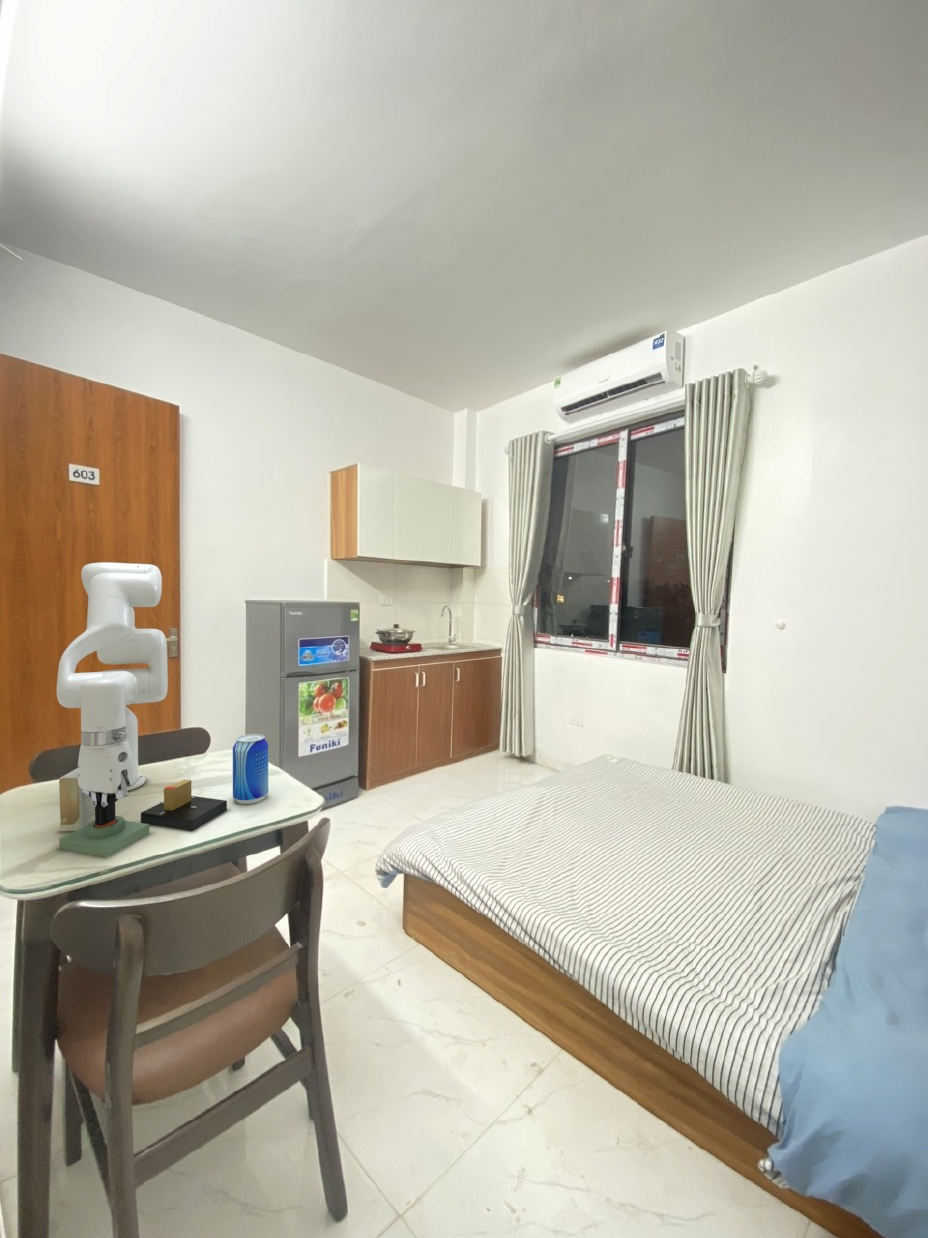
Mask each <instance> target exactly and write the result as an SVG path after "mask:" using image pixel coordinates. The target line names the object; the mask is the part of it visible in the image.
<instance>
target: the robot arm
mask: <svg viewBox="0 0 928 1238" xmlns="http://www.w3.org/2000/svg"><path fill="white" fill-rule="evenodd" d="M80 574H81V575H80V576H81V582H82V586H83V588H84V590H85V593H86V594H87V597H88V598H87V599H88V600H87V618H86V629H85V631H83V633H81V634H80V635H78V636H77V637H76V638H75V639H73V641H71V643H69V645H68V646H67V647H66V648H65V649H64V651H63V652H62V654H61V657H60V659H59V662H58V669H57V679H56V699H57V702H58V703H59V704H60V706H62V707H63V708H66V709H80V732H81V733H80V735H81V737H80V738H81V743H80V747H79V752H78V761H77V768H78V785H79V787H80V788H81V789H82V792H83V793H85V794H87V795H89V796H90V797H91V798H92V804H93V805H94V806H95V824H96V825H101V826H103V825H105V824H107V823H109V822H111V821H113V820H115V816H116V803H117V802H118V801H119V799H123V798H125V797H127V796H128V795H129V791H132V790H135V789H137V788H139V787H141V786H143V785H144V783H145V782H146V776H145V775H143V774H140V773H139V722H138V718H137V716H136V714H135V713H134V712H133V711H132V710H131V709H130V708H129V707H127V706H129V705H130V706H131V705H137V704H138V705H139V704H150V703H158V702H161V701H164V700H165V699H166V697H167V695H168V689H169V674H168V671H169V670H168V669H169V667H168V642H167V638H166V635H165V633H164V632H163V631H162V630H161V629H158V628H137V627H136V625H135V622H136V620H135V617H136V616H135V615H136V613H135V610H134V608H154V607H156V606H158V605H159V604H160V601H161V598H162V591H163V590H162V589H163V587H162V586H163V576H162V573H161V570H160V568H159V567H158V566H157V565H154V564H151V563H150V564H148V563H128V562H127V563H126V562H108V561H107V562H102V561H101V562H91V563H87V564H85V565H84V566H83V567H82V568H81V573H80ZM94 652H96V657H97V659H98V661H99V662H100V663H103V664H105V665H133V664H136V665H137V664H145V665H147V666H148V667H141V668H119V669H108V670H103V671H91V672H89V671H88V672H76V669H77V666H78V664H79V663H80V662H81V661H82V660H83V659H84V658H85V657H86V656H88V655H90V654H92V653H94Z"/></svg>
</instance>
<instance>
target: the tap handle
mask: <svg viewBox="0 0 928 1238" xmlns="http://www.w3.org/2000/svg"><path fill="white" fill-rule="evenodd" d="M192 796H193V795H192V779H181V780H180V781H177V782H175V783H173V784H171V785H167V786H165V787H164V788H163V802H164V810H169V811H173V810H175V809H177V808H178V807H180V806H182V805H184V804H186V803H188V802H190V801H191V800H192Z"/></svg>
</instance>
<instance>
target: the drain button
mask: <svg viewBox="0 0 928 1238" xmlns="http://www.w3.org/2000/svg"><path fill="white" fill-rule="evenodd" d="M115 823H116V819H115V820H113V821H111V822H109V823H107V824H105V825H103V826H101V825H96V824H95V827H96V828H102V827H107V826H111V825H113V824H115Z"/></svg>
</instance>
